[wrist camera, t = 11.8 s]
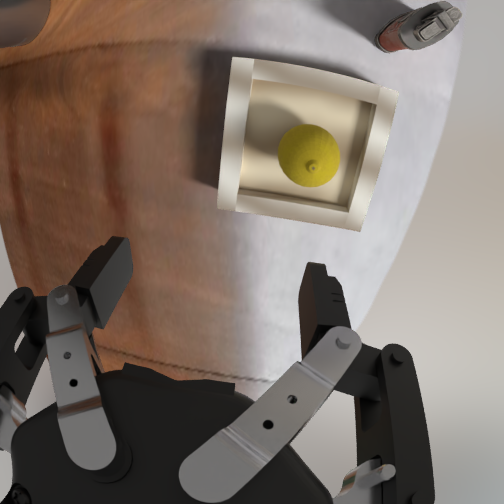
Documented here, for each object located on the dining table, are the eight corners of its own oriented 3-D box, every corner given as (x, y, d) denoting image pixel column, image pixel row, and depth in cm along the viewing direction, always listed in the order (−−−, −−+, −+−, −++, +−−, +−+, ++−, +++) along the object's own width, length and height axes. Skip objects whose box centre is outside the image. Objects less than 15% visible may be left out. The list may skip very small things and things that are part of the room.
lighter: (413, 5, 19) (457, -10, 11) (431, 28, 21) (479, 21, 12) (368, 36, 23) (403, 23, 15) (387, 59, 24) (429, 57, 16)
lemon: (271, 126, 27) (268, 143, 21) (324, 113, 26) (341, 126, 19) (285, 175, 30) (288, 207, 23) (336, 163, 29) (354, 193, 22)
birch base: (239, 60, 27) (232, 56, 22) (381, 88, 27) (399, 92, 22) (225, 189, 36) (216, 208, 31) (350, 210, 36) (360, 231, 31)
